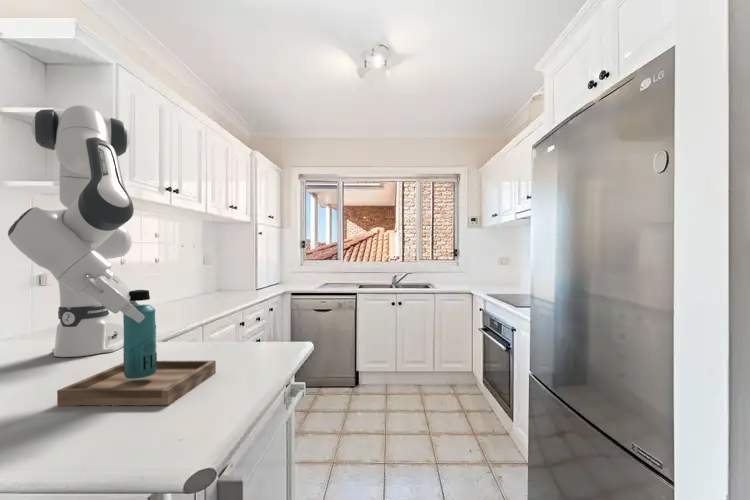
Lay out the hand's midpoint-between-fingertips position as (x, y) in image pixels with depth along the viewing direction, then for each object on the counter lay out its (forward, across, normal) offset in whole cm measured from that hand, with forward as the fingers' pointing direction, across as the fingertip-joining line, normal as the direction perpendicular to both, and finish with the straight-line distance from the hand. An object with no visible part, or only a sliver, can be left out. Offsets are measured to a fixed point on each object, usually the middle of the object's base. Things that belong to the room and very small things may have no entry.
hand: (142, 316), depth 92 cm
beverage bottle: (+10, 0, +10) cm, 14 cm away
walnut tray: (+11, 0, +11) cm, 16 cm away
